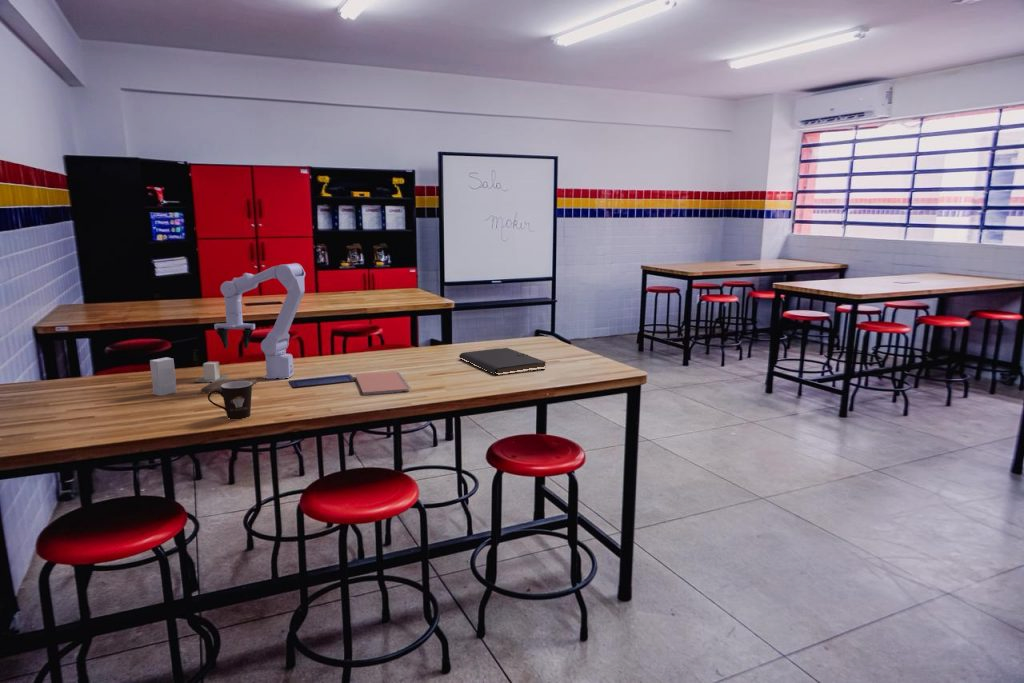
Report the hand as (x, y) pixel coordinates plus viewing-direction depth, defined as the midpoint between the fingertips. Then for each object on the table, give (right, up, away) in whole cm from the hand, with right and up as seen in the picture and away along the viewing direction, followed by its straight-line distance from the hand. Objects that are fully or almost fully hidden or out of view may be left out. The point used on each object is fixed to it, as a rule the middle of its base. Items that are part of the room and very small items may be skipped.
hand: (236, 347), depth 239 cm
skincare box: (-13, -16, -26) cm, 33 cm away
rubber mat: (-6, -12, -7) cm, 15 cm away
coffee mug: (+21, -21, -50) cm, 58 cm away
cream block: (-6, -11, -7) cm, 15 cm away
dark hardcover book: (+101, -8, +25) cm, 105 cm away
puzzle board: (+6, -14, -18) cm, 24 cm away
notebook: (+58, -14, -10) cm, 61 cm away
